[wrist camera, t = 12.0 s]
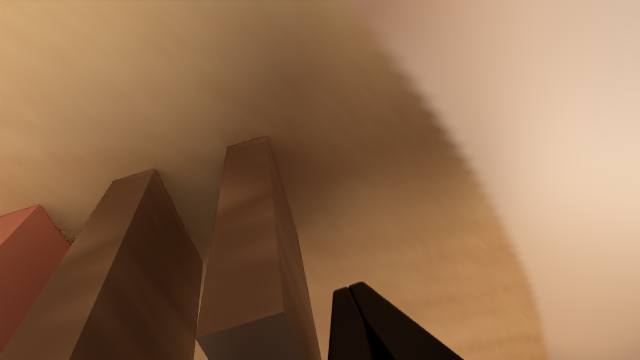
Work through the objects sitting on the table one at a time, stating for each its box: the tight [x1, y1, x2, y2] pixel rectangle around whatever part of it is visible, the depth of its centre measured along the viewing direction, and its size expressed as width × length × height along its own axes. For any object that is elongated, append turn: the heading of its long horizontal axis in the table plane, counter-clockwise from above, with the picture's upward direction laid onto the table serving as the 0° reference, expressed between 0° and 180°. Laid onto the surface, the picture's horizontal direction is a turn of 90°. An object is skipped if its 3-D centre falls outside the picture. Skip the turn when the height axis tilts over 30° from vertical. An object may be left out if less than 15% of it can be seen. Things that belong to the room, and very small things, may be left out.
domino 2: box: [0, 169, 203, 360], centre depth 11 cm, size 2×5×9 cm, turn 13°
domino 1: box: [196, 137, 321, 360], centre depth 11 cm, size 2×5×9 cm, turn 13°
